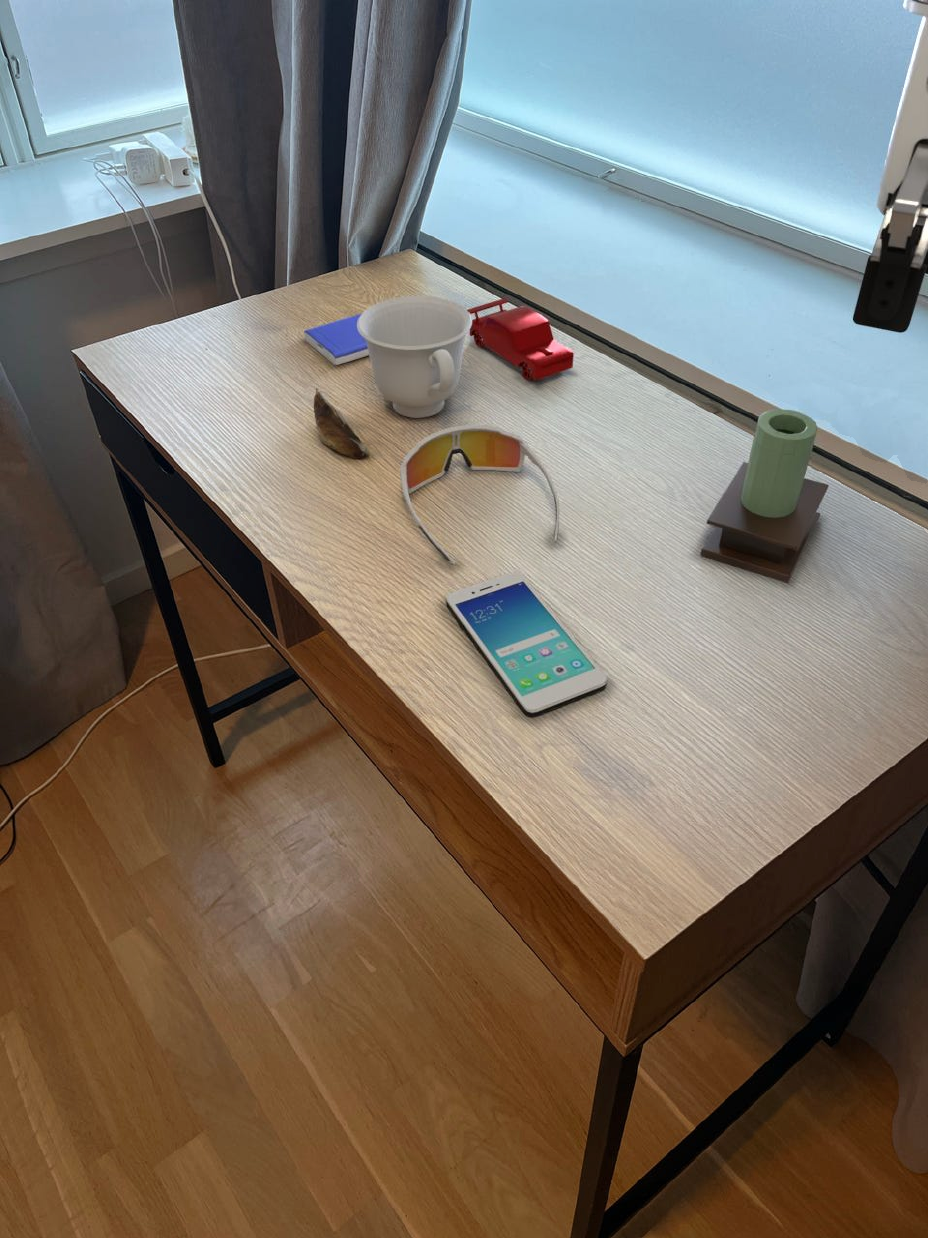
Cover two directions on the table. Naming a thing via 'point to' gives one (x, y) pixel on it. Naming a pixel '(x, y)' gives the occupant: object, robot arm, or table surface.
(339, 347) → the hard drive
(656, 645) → the table surface
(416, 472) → the sunglasses
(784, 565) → the stand
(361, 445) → the oyster shell
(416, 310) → the teacup
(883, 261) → the robot arm
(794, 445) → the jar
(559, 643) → the smartphone
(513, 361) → the toy car
